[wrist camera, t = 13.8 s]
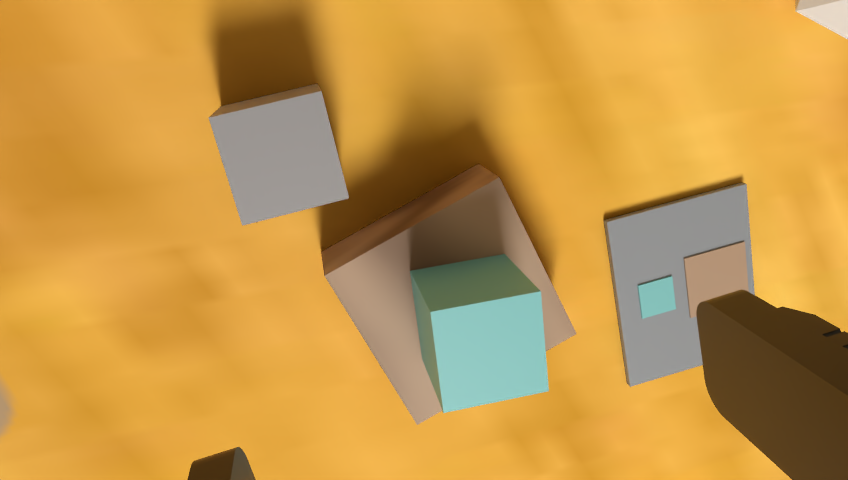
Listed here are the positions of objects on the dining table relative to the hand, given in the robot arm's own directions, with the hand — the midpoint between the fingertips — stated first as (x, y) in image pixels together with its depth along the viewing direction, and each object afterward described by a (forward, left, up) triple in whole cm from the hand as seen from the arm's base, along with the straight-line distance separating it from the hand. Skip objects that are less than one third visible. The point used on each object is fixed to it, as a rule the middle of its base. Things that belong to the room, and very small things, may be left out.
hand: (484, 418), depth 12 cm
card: (-16, +11, -23) cm, 30 cm away
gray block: (+3, -2, -23) cm, 24 cm away
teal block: (-3, +7, -20) cm, 21 cm away
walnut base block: (-3, +7, -24) cm, 25 cm away
